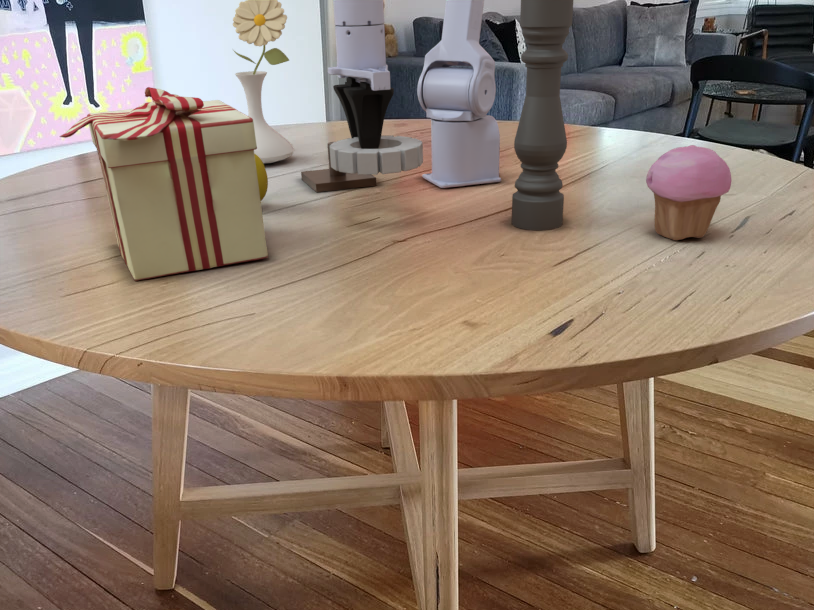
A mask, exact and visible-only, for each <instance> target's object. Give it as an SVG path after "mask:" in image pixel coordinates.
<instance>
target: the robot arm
mask: <svg viewBox="0 0 814 610" xmlns="http://www.w3.org/2000/svg"><path fill="white" fill-rule="evenodd" d="M444 4H445V5H444V15H443V22H442V23H443V24H442V33H441V40H440V41H439V42H438V43H437V44H436V45H434V46H433V47H432V48H431V49H430V50H429V51H428V52H427V53H426V54H425V55H424V63H423V68H422V71H421V73H420V75H419V78H418V82H417V88H416V92H417V93H416V94H417V99H418V102H419V105H420V107H421V109H422V110H423V111H424V112H426V113H425V117H426V119H427V118H428V119H430V137H431V139H430V140H431V141H430V144H431V147H430V148H431V149H430V150H431V173H423V174H422V175H421V177H422V179H424V180H426V181H428V182H429V183H431V184H433V185H435V186H437V187H439V188H441V189H447V188H457V187H465V186H474V185H480V184H481V185H483V184H484V185H485V184H493V183H500V182H502V177H500V159H501V158H500V154H501V152H500V151H501V146H500V145H501V133H500V128H499V124H498V121H497V120H496V118H495V117H494V116H492V115H489V114H488V113H489V112H490V110H491V109H492V108H493V105H494V102H495V99H496V92H497V88H496V80H495V77H496V76H495V73H496V72H495V71H496V69H495V68H496V61H495V59H493V57H492V56H491V55H490V54H489V52H487V50H485V48H484V47H482V45H481V44H480V39H481V29H482V21H483V13H484V6H485V5H484V4H485V0H445V3H444ZM332 6H333V20H334V21H333V22H334V35H335V50H336V66H329V67H327V74H328V75H330V76H337V78H338V79H346V80H345V82H344V83H342V84H334V85H332V87H333V91H334V93H335V94H336V97H337V98H338V100H339V102H340V104H341V106H342V110H343V113H344V114H345V119H346V123H347V126H348V130H349V134H350V138H353V139H354V137H358V139H359V143H360V146H361V149H377V148H379V145H380V140H381V135H383V128H384V122H385V117H386V113H387V110H388V108H389V105H390V102H391V100H392V98H393V96H394V94H395V89H394V88H393V87H391V71H390V70H389V65H388V64H387V56H386V32H385V9H384V8H385V7H384V0H332ZM487 114H488V115H487Z"/></svg>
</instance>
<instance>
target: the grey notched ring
mask: <svg viewBox="0 0 814 610" xmlns="http://www.w3.org/2000/svg"><path fill="white" fill-rule="evenodd" d="M333 142H334V143H332V144H331V145H330V146H329V147H330V160H331V167H332V168H333V169H334V170H336V171H339V172H344V173H350V174H355V173H358V174H363V175H373V176H374V175H378V174H382V175H388V174H398V173H401V172H408V171H412V170H415V169H418V168H420V167H421V166H422V165H423V163H424V145H423V141H422V140H420V139H418V138H416V137H412V136H403V135H383V134H381V140H380V145H379V148H377V149H361V146H360V143H359V139H358V137H354V139H353V138H351V137H348V138H347V137H346V138H344V139H340V140H336V141H333Z"/></svg>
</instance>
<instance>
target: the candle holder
mask: <svg viewBox="0 0 814 610" xmlns="http://www.w3.org/2000/svg"><path fill="white" fill-rule="evenodd" d="M519 13H520V14H519V15H520V17H519V27H520V28H522V32H521V34H522V36H523V38H524V41H525V44H526V45H527V48H526V50H524V51H523V52H522V53H521V55H520V60H521V62H522V63H524V64H525V65H524V67H525V68H526V76H525V77H526V80H525V81H526V82H525V96H524V97H525V98H524V100H523V104H522V109H521V113H520V117H519V121H518V124H517V129H516V132H515V137H514V141H513V147H514V152H515V155H516V157H517V158H518V160H519V162H521V163H520V168H521V169H522V172H521V173H520V174H519V175H518V178H516V179H515V182H514V189H516V190H517V191H516V192H513V193H512V195H511V225H512V227H515V228H517V229H520V230H528V231H546V230H554V229H558V228H559V227H560V228H561V226H563V220H564V219H563V218H564V203H565V195H564V193H563V192H561V191H560V190H562V189H563V187H564V185H563V181H562V179H561V178H560V175H559V174H558V172H556V170H557V169H558V168H559V162H560V161H561V160H562V158H563V157H564V155H565V153H566V150H567V146H568V139H567V138H568V137H567V133H566V127H565V120H564V115H563V108H562V102H561V79H562V67H564V63H566V62H567V61H568V58H569V53H568V52H567V50H564V48H563V45H564V44H565V43H566V38H567V37H568V36H569V34H570V27H572V26H573V17H574V14H573V13H574V0H520V12H519Z"/></svg>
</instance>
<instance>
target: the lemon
mask: <svg viewBox="0 0 814 610" xmlns="http://www.w3.org/2000/svg"><path fill="white" fill-rule="evenodd" d="M254 156H255V163H256V170H257V178H258V186H259V193H260V201H261V202H262V201H263V200H264V199H265V197H266V194H267V192H268V187H269V178H268V173H267V170H266V167H265V164H263V162H262V160H261V159H260V158H259V157H258V156H257V155H256V154H254Z"/></svg>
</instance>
